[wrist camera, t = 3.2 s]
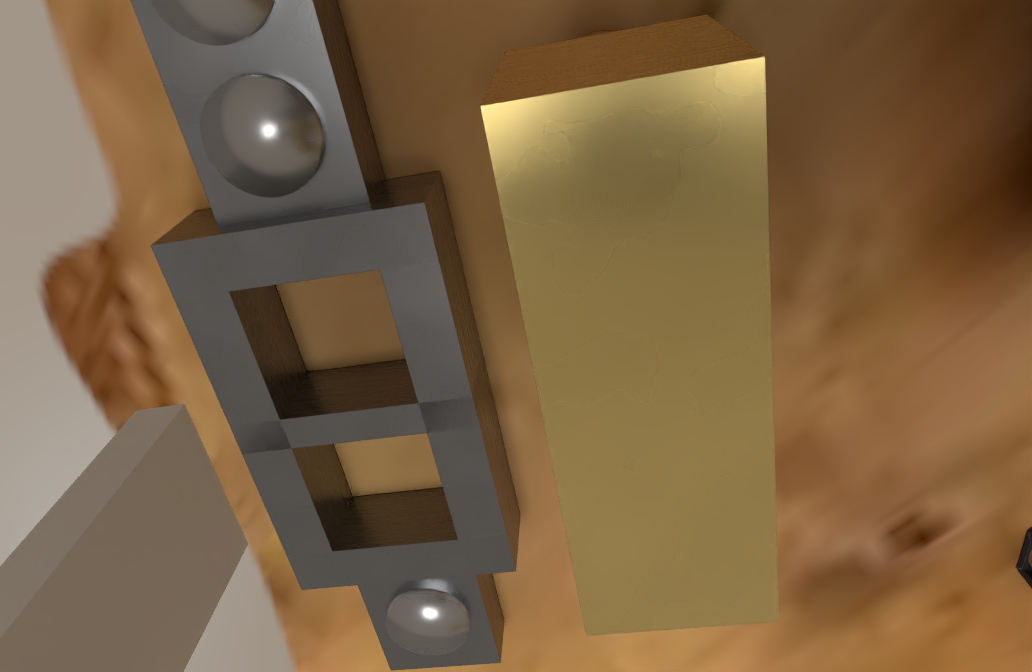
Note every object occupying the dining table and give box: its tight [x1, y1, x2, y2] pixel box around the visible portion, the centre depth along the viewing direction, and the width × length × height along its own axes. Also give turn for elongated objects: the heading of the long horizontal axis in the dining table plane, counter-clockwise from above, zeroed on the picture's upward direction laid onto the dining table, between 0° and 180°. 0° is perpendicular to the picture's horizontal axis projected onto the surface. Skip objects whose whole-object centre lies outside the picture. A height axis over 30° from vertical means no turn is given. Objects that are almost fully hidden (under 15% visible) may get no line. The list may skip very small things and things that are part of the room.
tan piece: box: [481, 15, 779, 636], centre depth 15 cm, size 9×3×10 cm, turn 10°
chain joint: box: [131, 0, 520, 670], centre depth 22 cm, size 24×7×2 cm, turn 10°
